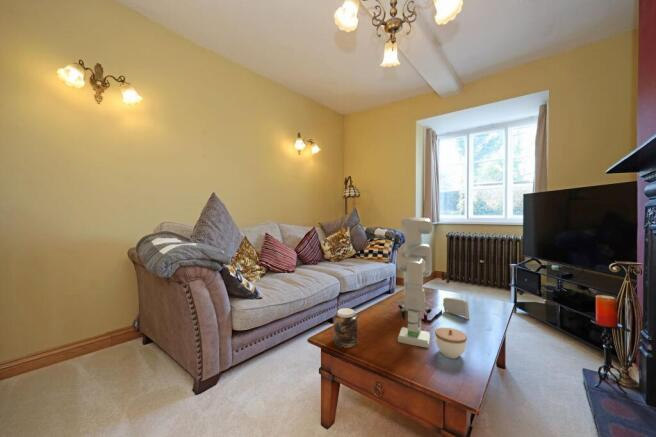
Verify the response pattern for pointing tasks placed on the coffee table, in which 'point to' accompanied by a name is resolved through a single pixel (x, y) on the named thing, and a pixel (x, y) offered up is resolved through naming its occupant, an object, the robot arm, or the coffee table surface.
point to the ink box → (414, 323)
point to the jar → (345, 328)
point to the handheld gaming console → (456, 307)
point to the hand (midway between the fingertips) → (414, 320)
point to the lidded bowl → (450, 342)
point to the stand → (414, 338)
